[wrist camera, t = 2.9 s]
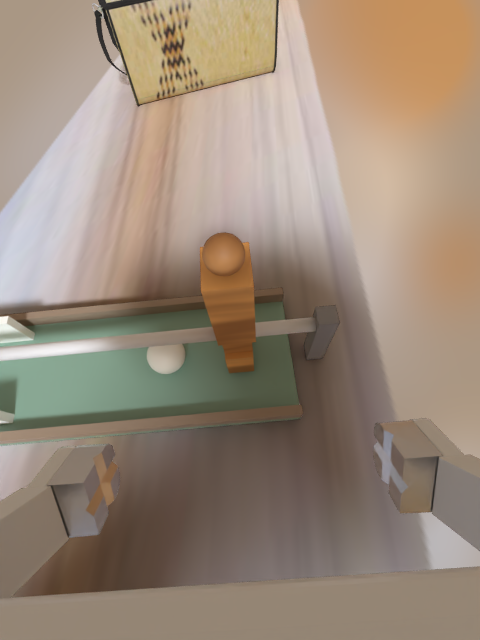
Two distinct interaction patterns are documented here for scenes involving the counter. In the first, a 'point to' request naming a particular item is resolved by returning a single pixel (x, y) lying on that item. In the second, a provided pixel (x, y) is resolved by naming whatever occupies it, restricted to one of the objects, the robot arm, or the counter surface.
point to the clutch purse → (189, 42)
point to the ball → (166, 358)
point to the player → (230, 298)
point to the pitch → (145, 369)
